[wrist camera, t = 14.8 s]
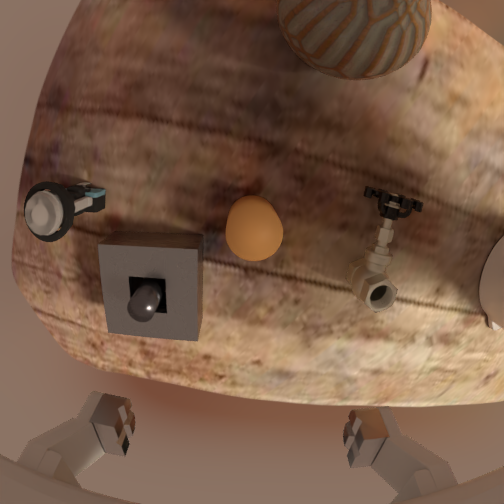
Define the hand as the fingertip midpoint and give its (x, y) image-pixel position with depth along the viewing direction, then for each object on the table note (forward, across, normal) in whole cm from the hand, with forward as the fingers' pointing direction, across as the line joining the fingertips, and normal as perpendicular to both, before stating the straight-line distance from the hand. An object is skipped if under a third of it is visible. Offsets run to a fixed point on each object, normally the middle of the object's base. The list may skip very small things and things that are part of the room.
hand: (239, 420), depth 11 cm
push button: (+25, +19, -4) cm, 31 cm away
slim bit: (+25, +10, +5) cm, 27 cm away
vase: (+26, -8, -22) cm, 35 cm away
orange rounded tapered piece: (+25, 0, -2) cm, 25 cm away
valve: (+26, -14, 0) cm, 29 cm away
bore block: (+25, +10, +5) cm, 27 cm away
